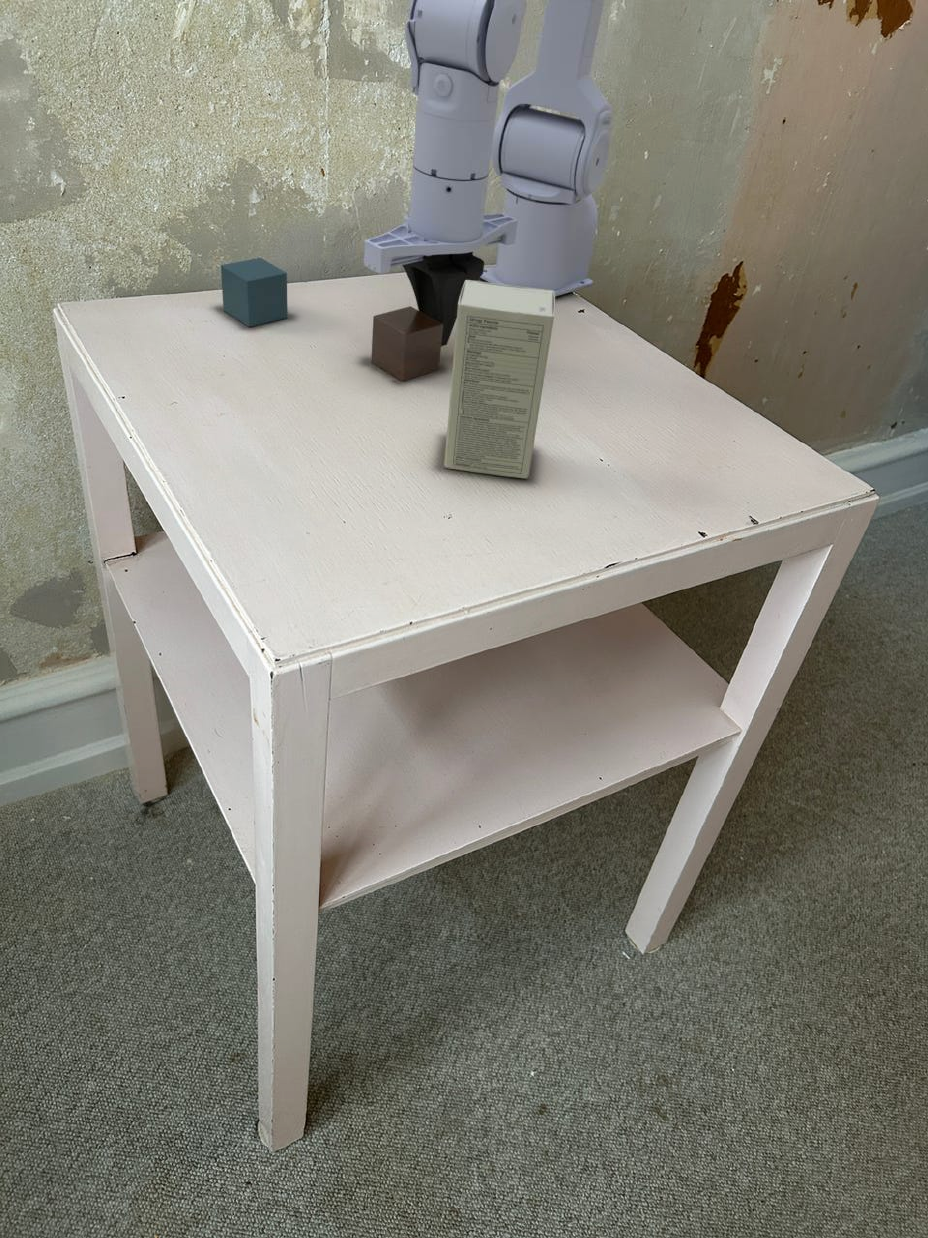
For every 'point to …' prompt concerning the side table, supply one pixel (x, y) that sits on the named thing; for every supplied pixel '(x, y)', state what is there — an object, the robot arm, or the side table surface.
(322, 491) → the side table surface
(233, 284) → the slate block
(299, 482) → the side table surface
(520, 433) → the cosmetic box
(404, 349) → the walnut block
